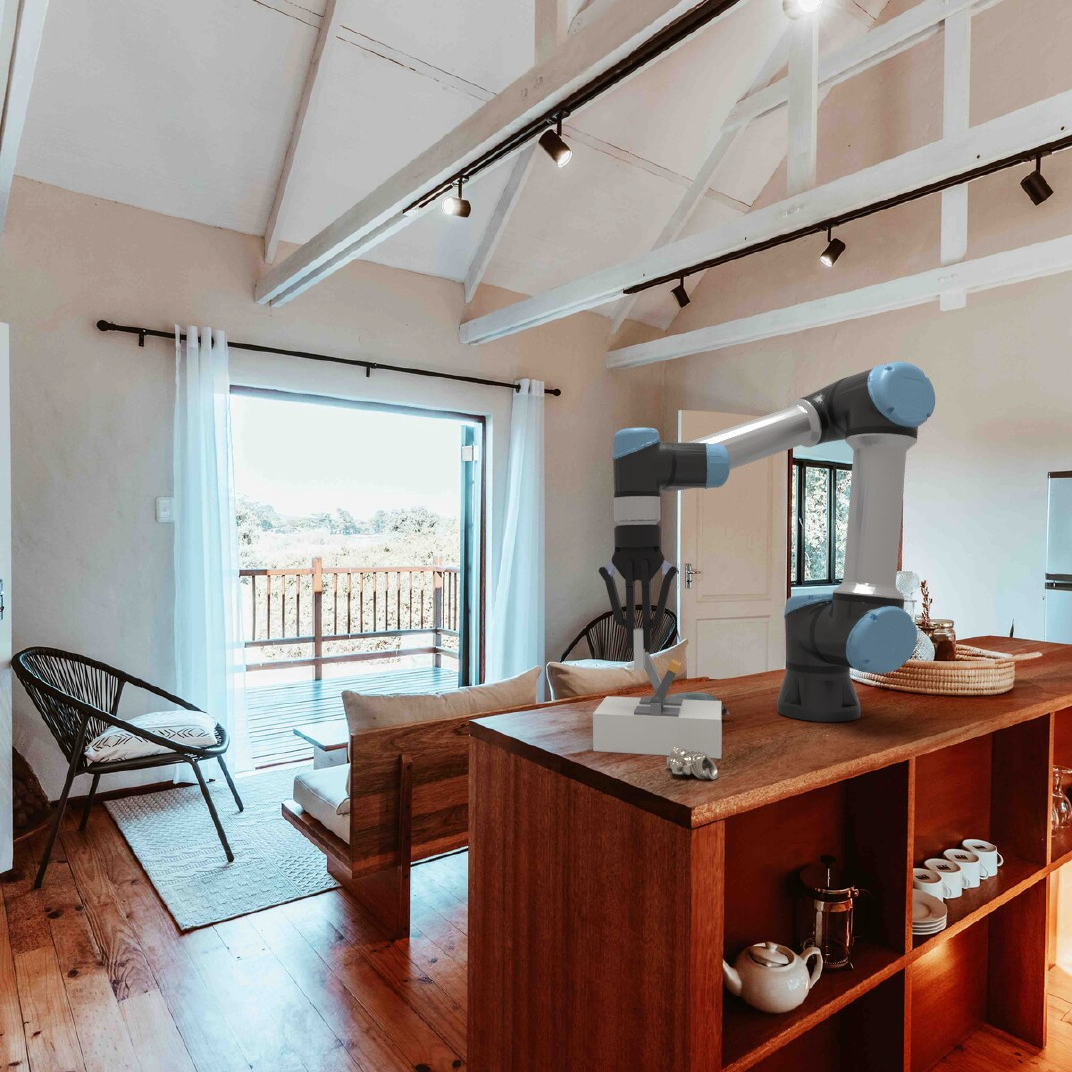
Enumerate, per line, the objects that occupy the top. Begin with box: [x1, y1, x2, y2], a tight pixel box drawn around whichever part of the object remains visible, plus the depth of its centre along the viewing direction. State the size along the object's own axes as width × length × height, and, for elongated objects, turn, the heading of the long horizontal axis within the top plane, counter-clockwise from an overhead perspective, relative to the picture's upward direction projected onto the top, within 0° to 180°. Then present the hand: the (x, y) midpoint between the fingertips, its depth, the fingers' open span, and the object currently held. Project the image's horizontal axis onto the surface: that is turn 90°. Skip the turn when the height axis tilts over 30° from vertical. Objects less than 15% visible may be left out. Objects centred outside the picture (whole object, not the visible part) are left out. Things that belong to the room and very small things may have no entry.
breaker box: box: [592, 651, 723, 760], centre depth 124 cm, size 20×14×14 cm
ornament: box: [666, 747, 719, 780], centre depth 107 cm, size 8×7×4 cm
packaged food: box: [668, 691, 730, 717], centre depth 142 cm, size 9×12×5 cm
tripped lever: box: [650, 658, 682, 707], centre depth 120 cm, size 2×3×8 cm
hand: (639, 668), depth 121 cm, fingers closed
